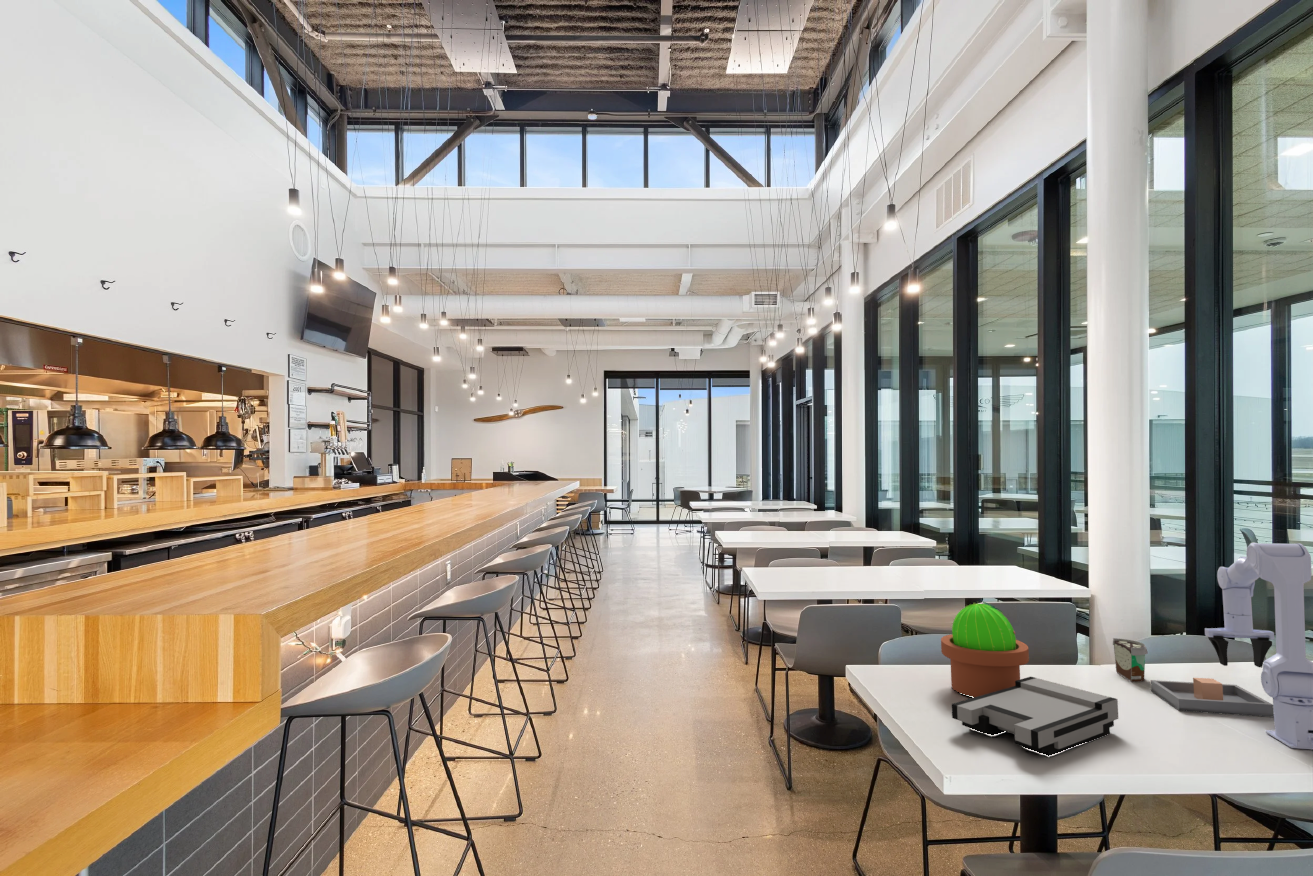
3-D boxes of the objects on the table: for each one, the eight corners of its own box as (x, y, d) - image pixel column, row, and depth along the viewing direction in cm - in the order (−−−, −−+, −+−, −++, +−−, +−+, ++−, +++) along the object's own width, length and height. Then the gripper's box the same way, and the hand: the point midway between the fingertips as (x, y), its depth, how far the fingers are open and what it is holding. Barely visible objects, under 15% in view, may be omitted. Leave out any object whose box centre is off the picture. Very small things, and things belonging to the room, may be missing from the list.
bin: (1273, 717, 166) (1273, 704, 166) (1179, 711, 171) (1178, 699, 171) (1236, 696, 181) (1236, 684, 182) (1151, 691, 187) (1150, 680, 187)
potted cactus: (953, 703, 180) (950, 608, 181) (935, 678, 201) (931, 593, 202) (1043, 707, 176) (1038, 610, 177) (1014, 681, 197) (1010, 595, 199)
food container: (1158, 684, 192) (1156, 649, 193) (1134, 683, 193) (1132, 648, 194) (1136, 672, 204) (1134, 638, 205) (1114, 671, 206) (1112, 637, 206)
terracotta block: (1223, 703, 174) (1222, 684, 174) (1203, 702, 175) (1201, 682, 175) (1214, 698, 178) (1212, 678, 178) (1194, 696, 179) (1193, 677, 179)
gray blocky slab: (952, 733, 160) (951, 698, 160) (1032, 708, 176) (1030, 676, 176) (1039, 766, 142) (1037, 726, 142) (1119, 734, 158) (1117, 699, 158)
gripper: (1261, 611, 180) (1264, 663, 179) (1197, 609, 184) (1200, 660, 183) (1278, 617, 173) (1281, 670, 173) (1211, 614, 177) (1214, 667, 176)
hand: (1241, 665), depth 177 cm, fingers open, 7 cm apart
